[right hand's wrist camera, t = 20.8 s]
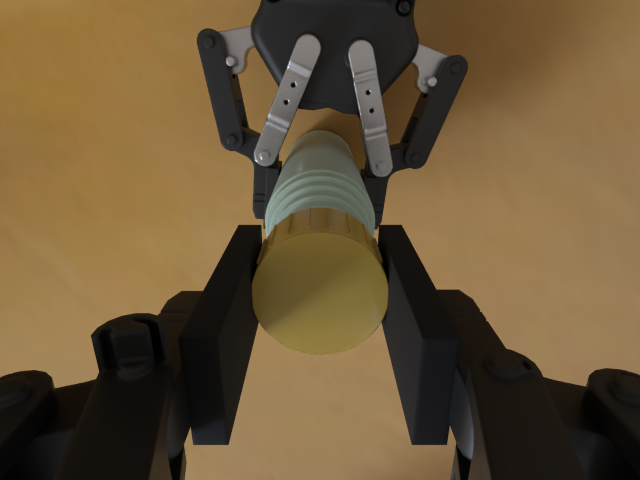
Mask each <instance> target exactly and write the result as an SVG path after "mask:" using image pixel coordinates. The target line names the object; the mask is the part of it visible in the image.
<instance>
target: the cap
mask: <svg viewBox="0 0 640 480" xmlns="http://www.w3.org/2000/svg"><path fill="white" fill-rule="evenodd" d="M382 262H383V259H382V256H381V253H380V250H379V248H378V245H377V242H376V239H375V238H373V237H372V235H371V234H370V232H369V231H368V229H367V228H366V226H365V224H364V223H363V224H362V223H361V222H360V221H359V220H357V219H356V218H354V217H353V216H351V215H350V214H349V213H345V212H343V211H340V210H336V209H332V208H331V207H328V208H323V207H317V208H311V207H309V208H308V209H304V210H301V211H298V212H295V213H293V214H292V213H291V214H289V216H287V217H286V218H284V219H283V220H282V221H280V222H279V223H278V224H277V225H276V224H275V225H274V227H273V230H272V231H271V232H270V234H269V235H268V237H267V239H264V242H263V245H262V247H261V250H260V253H259V256H258V259H257V262H256V264H258V265H257V268H256V271H255V274H254V277H253V281H252V300H253V310H254V313H255V315H256V317H257V319H258V321H259V323H260V324H261V326H262V327H263V329H264V330H265V331H266V332H267V333H268V334H269V335H270V336H271V337H272V338H273V339H274V340H276V341H277V342H279V343H280V344H282V345H284V346H286V347H287V348H290V349H292V350H295V351H298V352H302V353H306V354H314V355H326V354H334V353H339V352H342V351H346V350H348V349H350V348H353V347H355V346H357V345H358V344H360V343H362V342H363V341H364V340H366V339H367V338H368V337H369V336H370V335H371V334H372V333H373V332H374V331H375V330H376V329H377V328H378V326H379V325H380V323H381V321H382V320H383V318H384V315H385V313H386V310H387V304H388V288H389V285H388V280H387V277H386V274H385V271H384V268H383V264H382Z"/></svg>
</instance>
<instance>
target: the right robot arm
mask: <svg viewBox="0 0 640 480" xmlns="http://www.w3.org/2000/svg"><path fill="white" fill-rule="evenodd" d="M261 247H262V230H261V225H238V227H237V229H236V231H235V233H234V235H233V237H232V238H231V240H230V242H229V244H228V246H227V248H226V250H225V251H224V253H223V255H222V257H221V259H220V261H219V263H218V265H217V266H216V268H215V270H214V272H213V274H212V276H211V278H210V279H209V281H208V283H207V285H206V287H205V289H204V291H181V292H180V293H178V294H177V295H175V296H174V297H172V298H171V299H169V300H168V301H167V303H166V304H165V305H164V307H163V308H162V310H161V313H160V314H158V316H157V315H153V314H149V313H135V314H130V315H124V316H120V317H118V318H115V319H112V320H110V321H108V322H106V323H104V324H103V325H101V326H100V327H98V328H97V329H96V330H95V331H94V332H93V334H92V335H91V338H92V342H93V347H94V351H95V355H96V360H97V364H98V368H99V374H98V376H97V379H95V380H91V381H88V382H84V383H79V384H74V385H69V386H64V387H60V388H55V387H54V384H53V380H52V377H51V376H50V375H48V374H47V373H46V372H42V371H37V370H30V371H20V372H16V373H13V374H8V375H5V376H2V377H1V378H0V480H185V471H186V455H185V449H184V443H185V440H186V438H187V435H188V432H189V429H190V427H191V432H192V439H193V445H229V441H230V437H231V432H232V428H233V424H234V420H235V416H236V412H237V408H238V404H239V400H240V396H241V392H242V388H243V384H244V380H245V376H246V372H247V368H248V364H249V359H250V355H251V351H252V347H253V343H254V339H255V335H256V331H257V327H258V323H259V321H258V319H257V317H256V315H255V313H254V310H253V300H252V281H253V277H254V274H255V271H256V268H257V265H258V264H256V262H257V259H258V256H259V253H260V250H261ZM378 248H379V250H380V253H381V256H382V259H383V262H382V264H383V268H384V271H385V274H386V277H387V280H388V285H389V288H388V304H387V310H386V313H385V315H384V318H383V320H382V321H381V322H382V326H383V330H384V334H385V338H386V342H387V346H388V350H389V354H390V358H391V362H392V366H393V371H394V375H395V379H396V383H397V387H398V391H399V395H400V399H401V403H402V407H403V411H404V415H405V419H406V423H407V427H408V431H409V435H410V439H411V443H412V445H447V441H448V434H449V427H450V426H451V429H452V432H453V435H454V437H455V440H456V449H455V455H454V462H453V468H452V475H451V480H640V375H638V374H636V373H633V372H628V371H625V370H619V369H609V368H605V369H600V370H595V371H594V372H593V373H592V374H590V375H589V378H588V381H587V385H586V387H585V386H580V385H575V384H570V383H565V382H561V381H556V380H552V379H548V378H545V377H543V375H542V373H541V371H540V370H539V368H538V367H537V366H536V364H535V363H534V362H532V361H531V360H530V359H528V358H527V357H526V356H524V355H522V354H520V353H517V352H515V351H513V350H509V349H506V348H505V346H504V345H503V343H502V342H501V340H500V339H499V337H498V336H497V334H496V333H495V331H494V330H493V328H492V327H491V326H490V324H489V323H488V321H486V318H485V317H484V315H483V314H482V312H480V309H479V308H478V306H477V305H476V303H475V302H474V300H473V299H472V298H470V297H469V296H467V295H466V294H464V293H463V292H461V291H460V290H436V288H435V286H434V284H433V283H432V281H431V279H430V277H429V275H428V273H427V271H426V270H425V268H424V266H423V264H422V262H421V260H420V258H419V257H418V255H417V253H416V251H415V249H414V247H413V245H412V243H411V242H410V240H409V238H408V236H407V234H406V232H405V230H404V229H403V227H402V225H379V236H378Z"/></svg>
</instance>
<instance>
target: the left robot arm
mask: <svg viewBox="0 0 640 480" xmlns="http://www.w3.org/2000/svg"><path fill="white" fill-rule="evenodd" d="M414 5H415V0H261V4H260V7H259V9H258V11H257V13H256V15H255V17H254V18H253V21H252V24H251V26H249V27H244V28H238V29H232V30H227V31H221V32H218V31H215V30H213V29H203V30H202V31H201V32H200V33H199V34H198V37H197V45H198V49H199V53H200V58H201V62H202V66H203V70H204V74H205V78H206V82H207V87H208V91H209V95H210V99H211V103H212V107H213V111H214V116H215V120H216V124H217V128H218V132H219V136H220V140H221V144H222V145H223V147H224V148H225V149H227V150H229V151H236V152H238V153H241V154H243V155H245V156H247V157H248V158H249V159H250V160H251V161H252V162H253V165H254V194H253V212H254V214H255V217H256V218H257V219H264V229H265V214H266V210H267V206H268V203H269V201H270V198H271V196H272V193H273V191H274V188H275V186H276V183H277V181H278V178H279V176H280V173H281V171H282V161H279V151H280V149H281V147H282V144H283V142H284V140H285V137H286V135H287V133H288V130H289V128H290V126H291V123H292V121H293V119H294V116H295V114H296V112H297V109H298V107H299V109H307V110H317V109H322V108H331V109H334V110H337V111H339V112H342V113H348V114H356V116H357V121H358V125H359V129H360V133H361V137H362V142H363V147H364V152H365V157H366V163H365V169H361V171H360V175H361V178H362V180H363V183H364V185H365V188H366V190H367V193H368V195H369V198H370V200H371V203H372V205H373V209H374V213H375V229H377V228H378V227H379V225H380V223H381V221H382V215H383V208H384V202H385V195H386V189H387V183H388V179H389V177H390V176H391V175H392V174H393V173H394V172H396V171H399V170H403V169H406V168H413V169H418V168H421V167H422V166H423V165H424V164H425V163H426V161H427V159H428V156H429V154H430V152H431V150H432V148H433V145H434V143H435V141H436V139H437V137H438V134H439V132H440V130H441V128H442V126H443V123H444V121H445V119H446V117H447V114H448V112H449V110H450V108H451V106H452V103H453V101H454V99H455V97H456V95H457V92H458V90H459V88H460V86H461V83H462V81H463V79H464V77H465V75H466V72H467V69H468V64H467V61H466V59H465V58H464V57H462V56H460V55H449V56H448V55H445V54H443V53H440V52H438V51H435V50H433V49H430V48H428V47H426V46H423V45H421V44H419V39H418V34H417V32H416V29H415V25H414ZM254 47H256V49H257V51H258V52H259V54H260V56H261V58H262V59H263V61H264V63H265V64H266V66H267V68H268V69H269V71H270V73H271V75H272V76H273V78H274V80H275V81H276V83H277V85H278V86H279V89H278V91H277V94H276V96H275V99H274V101H273V104H272V106H271V109H270V111H269V114H268V116H267V120H266V123H265V125H264V128H263V130H262V133H261V134H260V133H258V132H256V131H254V130H251V129H249V126H248V121H247V117H246V112H245V107H244V103H243V98H242V93H241V89H240V84H239V79H238V75H237V74H240V73H242V72H244V71H245V69H246V67H247V56H248V53H249V51H250V50H251V49H253V48H254ZM409 64H412V65H413V67H414V68H415V72H416V75H415V79H414V85H415V88H416V89H417V90H418V91H419V92H421V94H420V96H419V99H418V101H417V103H416V106H415V108H414V111H413V113H412V115H411V118H410V120H409V122H408V125H407V127H406V129H405V132H404V134H403V137H402V139H401V141H400V143H398V144H394V145H390V146H389V142H388V136H387V125H386V119H385V114H384V109H383V103H382V98H381V96H382V95H383V94H384V93H385V91H386V90H387V89H388V88H389V87H390V86H391V85H392V84H393V82H394V81H395V80H396V79H397V78H398V77H399V76H400V75H401V73H402V72H403V71H404V70H405V69H406V68H407V67H408V65H409Z"/></svg>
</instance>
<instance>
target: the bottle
mask: <svg viewBox="0 0 640 480" xmlns="http://www.w3.org/2000/svg"><path fill="white" fill-rule="evenodd" d="M309 207H311V208H317V207H323V208H328V207H331V208H332V209H336V210H340V211H343V212H345V213H349V214H350V215H351V216H353V217H354V218H356V219H357V220H359V221H360V222H361V223H362V224H363V223H364V224H365V226H366V228H367V229H368V231H369V232H370V234H371V235H372V237H374V229H375V213H374V209H373V205H372V203H371V200H370V198H369V195H368V193H367V190H366V188H365V185H364V183H363V180H362V178H361V175H360V173H359V170H358V168H357V165H356V163H355V160H354V158H353V155H352V153H351V150H350V148H349V146H348V145H347V143H346V142H345V141H344V140H343V139H342V138H341V137H340V136H338V135H337V134H335V133H333V132H330V131H326V130H314V131H310V132H308V133H305V134H303V135H302V136H300V137H299V138H298V139H297V140H296V141H295V142H294V143H293V145H292V147H291V148H290V151H289V153H288V156H287V158H286V161H285V163H284V166H283V168H282V171H281V173H280V176H279V178H278V181H277V183H276V186H275V188H274V191H273V193H272V196H271V198H270V201H269V203H268V206H267V210H266V214H265V229H266V236H267V237H268V235H269V234H270V232H271V231H272V230H273V227H274V225H275V224H276V225H277V224H278V223H279V222H280V221H282V220H283V219H284V218H286V217H287V216H289V214H291V213H292V214H293V213H295V212H298V211H301V210H304V209H308V208H309Z"/></svg>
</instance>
